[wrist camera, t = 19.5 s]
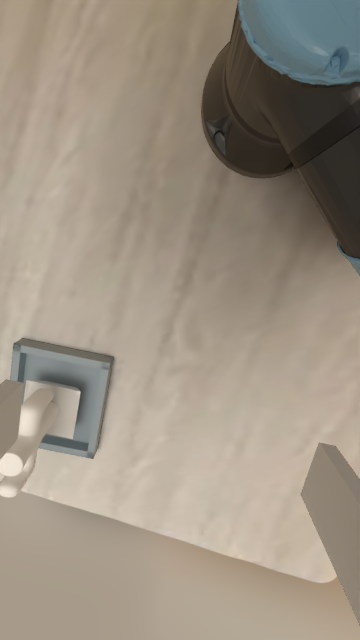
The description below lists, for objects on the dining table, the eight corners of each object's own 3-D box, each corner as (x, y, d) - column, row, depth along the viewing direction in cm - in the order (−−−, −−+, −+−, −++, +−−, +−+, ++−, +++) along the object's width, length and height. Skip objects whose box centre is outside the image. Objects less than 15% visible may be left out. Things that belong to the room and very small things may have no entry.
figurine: (89, 373, 47) (47, 432, 33) (79, 431, 50) (35, 511, 35) (39, 362, 47) (-27, 417, 33) (31, 421, 49) (-34, 497, 35)
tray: (22, 338, 47) (13, 343, 45) (113, 357, 47) (109, 363, 45) (12, 431, 50) (3, 441, 48) (97, 448, 51) (93, 458, 49)
